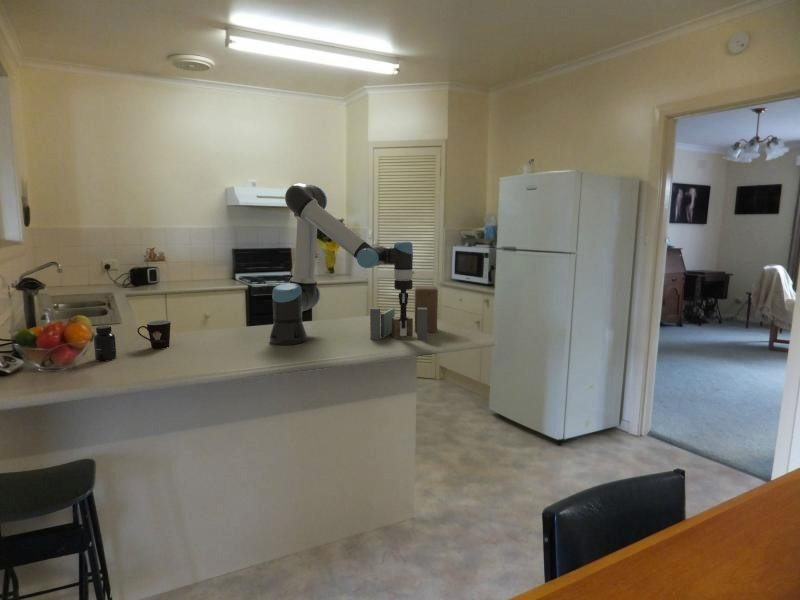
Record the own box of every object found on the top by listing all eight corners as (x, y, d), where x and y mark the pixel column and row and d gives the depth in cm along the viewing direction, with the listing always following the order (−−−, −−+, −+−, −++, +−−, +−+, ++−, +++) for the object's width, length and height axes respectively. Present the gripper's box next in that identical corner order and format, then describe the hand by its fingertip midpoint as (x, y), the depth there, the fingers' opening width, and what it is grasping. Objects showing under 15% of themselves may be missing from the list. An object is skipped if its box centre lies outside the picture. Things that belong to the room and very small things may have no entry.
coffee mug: (177, 345, 207) (175, 321, 205) (162, 350, 199) (160, 325, 197) (153, 343, 210) (151, 319, 208) (137, 348, 202) (135, 323, 200)
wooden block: (437, 333, 229) (437, 288, 226) (414, 333, 229) (415, 288, 226) (436, 328, 239) (436, 285, 236) (414, 328, 239) (414, 285, 236)
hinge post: (370, 339, 218) (370, 309, 215) (371, 336, 222) (370, 307, 219) (379, 339, 217) (379, 309, 215) (380, 337, 221) (380, 307, 219)
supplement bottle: (93, 362, 182) (89, 329, 180) (98, 357, 189) (95, 325, 187) (114, 360, 184) (111, 328, 182) (119, 356, 191) (116, 324, 189)
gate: (383, 337, 218) (383, 314, 217) (380, 337, 219) (380, 314, 217) (394, 330, 233) (394, 308, 231) (391, 329, 233) (391, 308, 232)
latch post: (417, 339, 217) (417, 309, 215) (417, 337, 221) (417, 307, 219) (426, 339, 217) (427, 309, 215) (426, 337, 221) (426, 307, 219)
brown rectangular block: (395, 337, 220) (395, 319, 219) (391, 335, 225) (391, 317, 224) (412, 336, 223) (412, 318, 222) (409, 334, 228) (409, 316, 226)
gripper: (412, 281, 204) (412, 339, 208) (412, 277, 217) (412, 332, 220) (394, 281, 204) (394, 339, 208) (394, 277, 217) (394, 332, 220)
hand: (403, 335), depth 214 cm, fingers closed
